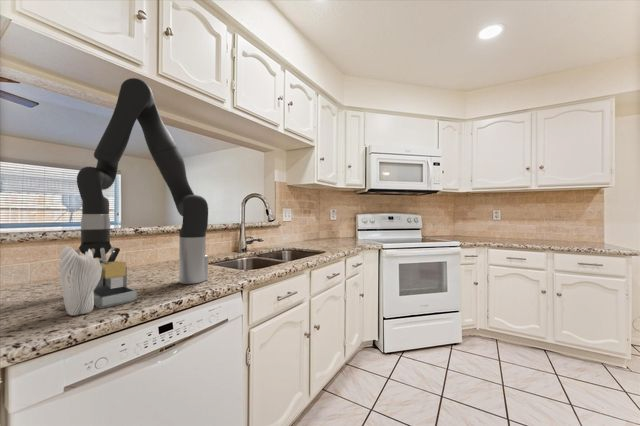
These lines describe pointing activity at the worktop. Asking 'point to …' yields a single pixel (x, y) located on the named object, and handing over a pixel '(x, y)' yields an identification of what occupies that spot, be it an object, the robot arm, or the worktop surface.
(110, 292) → the grey tray with arch
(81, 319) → the worktop surface
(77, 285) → the shell sculpture
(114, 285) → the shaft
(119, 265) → the yellow block
